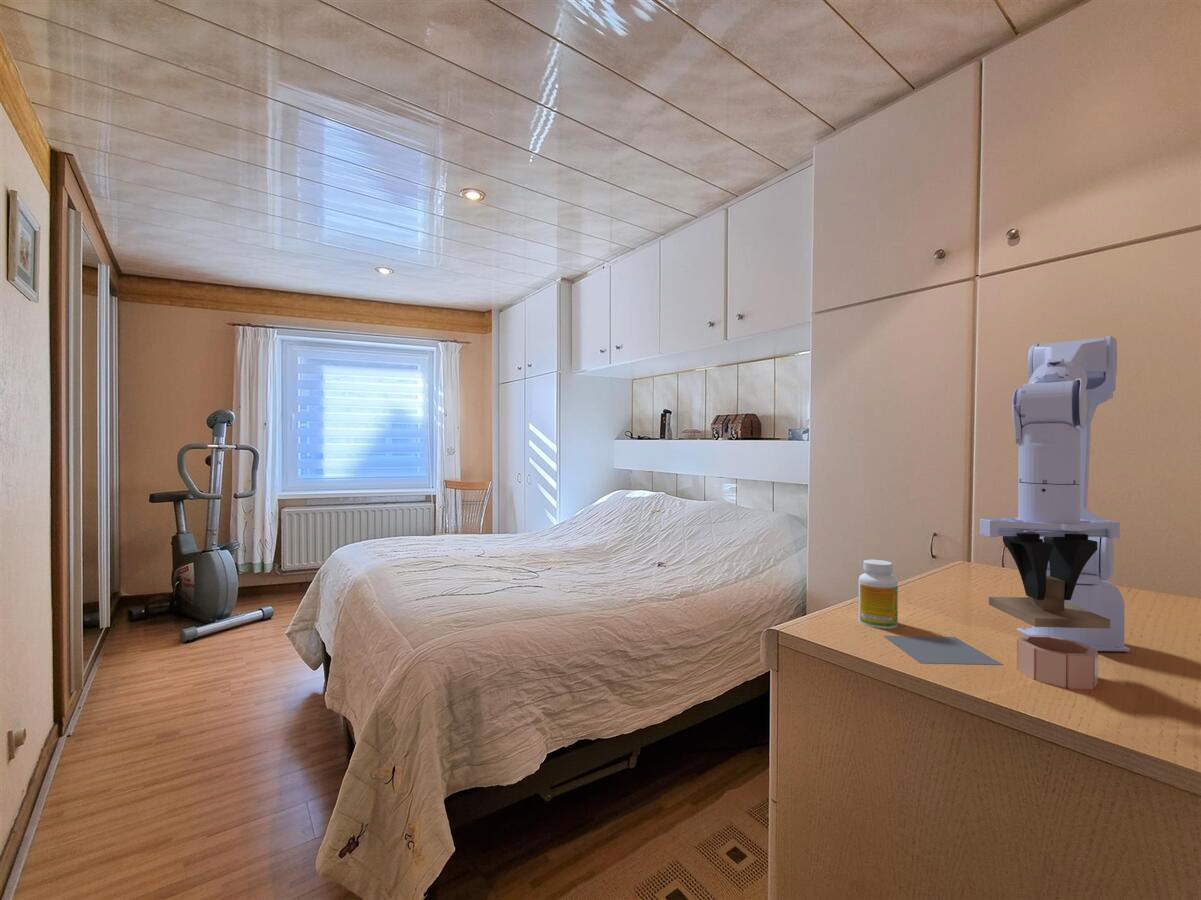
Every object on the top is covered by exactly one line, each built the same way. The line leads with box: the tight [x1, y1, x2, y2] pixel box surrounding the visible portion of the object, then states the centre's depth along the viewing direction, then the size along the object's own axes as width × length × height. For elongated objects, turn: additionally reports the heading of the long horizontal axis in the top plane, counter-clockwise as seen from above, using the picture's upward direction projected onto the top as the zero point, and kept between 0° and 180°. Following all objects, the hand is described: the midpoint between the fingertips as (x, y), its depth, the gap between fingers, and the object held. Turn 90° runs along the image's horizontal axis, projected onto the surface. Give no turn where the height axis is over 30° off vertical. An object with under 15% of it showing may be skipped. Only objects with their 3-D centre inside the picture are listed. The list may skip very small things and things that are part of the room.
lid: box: [988, 576, 1110, 628], centre depth 65 cm, size 8×8×4 cm
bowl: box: [1016, 634, 1099, 690], centre depth 64 cm, size 7×7×4 cm
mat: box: [883, 635, 1004, 666], centre depth 73 cm, size 10×10×1 cm
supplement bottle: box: [857, 559, 899, 629], centre depth 84 cm, size 5×5×10 cm
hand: (1047, 597), depth 65 cm, fingers closed on lid, 2 cm apart
